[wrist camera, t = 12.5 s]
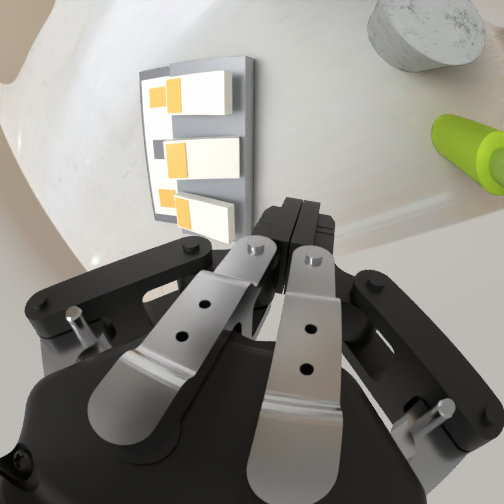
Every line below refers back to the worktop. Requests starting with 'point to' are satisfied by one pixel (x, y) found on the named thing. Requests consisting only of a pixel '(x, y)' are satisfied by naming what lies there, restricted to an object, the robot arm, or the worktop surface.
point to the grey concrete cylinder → (426, 33)
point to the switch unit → (192, 126)
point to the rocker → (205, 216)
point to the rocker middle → (202, 158)
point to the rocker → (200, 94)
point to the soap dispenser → (472, 149)
